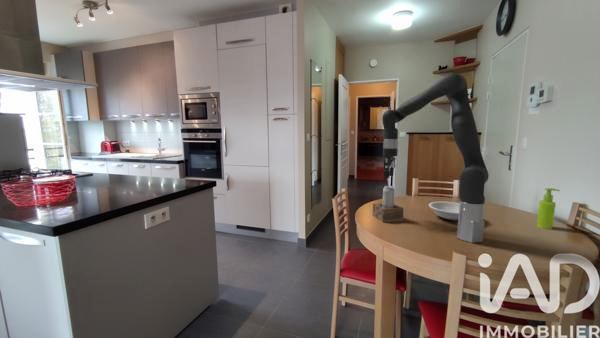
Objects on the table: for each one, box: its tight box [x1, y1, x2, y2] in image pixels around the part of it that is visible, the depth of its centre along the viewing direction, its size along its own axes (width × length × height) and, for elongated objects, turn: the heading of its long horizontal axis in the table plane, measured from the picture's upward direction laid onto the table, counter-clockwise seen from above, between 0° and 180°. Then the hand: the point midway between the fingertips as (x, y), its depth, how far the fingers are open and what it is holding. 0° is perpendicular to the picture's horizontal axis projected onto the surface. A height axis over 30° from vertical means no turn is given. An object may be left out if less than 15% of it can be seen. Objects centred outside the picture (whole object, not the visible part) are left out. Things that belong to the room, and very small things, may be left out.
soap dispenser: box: [536, 187, 560, 230], centre depth 133 cm, size 6×7×20 cm
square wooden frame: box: [371, 202, 404, 223], centre depth 149 cm, size 12×12×7 cm
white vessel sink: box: [428, 201, 460, 221], centre depth 148 cm, size 24×24×7 cm
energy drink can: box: [382, 185, 395, 208], centre depth 148 cm, size 6×6×15 cm
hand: (389, 176), depth 146 cm, fingers open, 8 cm apart
